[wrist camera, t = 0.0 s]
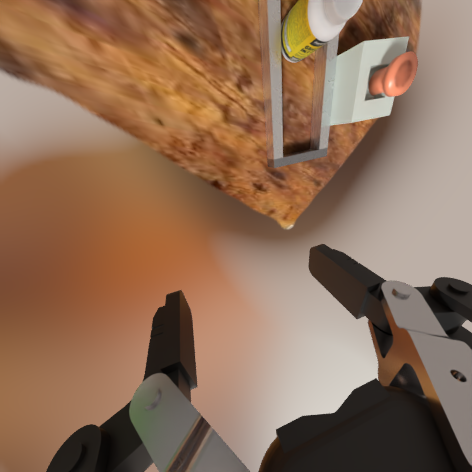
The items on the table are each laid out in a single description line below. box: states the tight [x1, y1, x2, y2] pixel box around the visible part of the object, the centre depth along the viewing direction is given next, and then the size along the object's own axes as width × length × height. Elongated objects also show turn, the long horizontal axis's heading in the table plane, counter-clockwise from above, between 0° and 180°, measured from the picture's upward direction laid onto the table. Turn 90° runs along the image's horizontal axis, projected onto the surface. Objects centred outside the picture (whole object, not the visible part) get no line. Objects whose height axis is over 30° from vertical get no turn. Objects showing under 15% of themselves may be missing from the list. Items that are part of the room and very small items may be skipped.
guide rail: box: [258, 0, 339, 168], centre depth 31 cm, size 24×12×3 cm, turn 9°
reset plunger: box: [368, 52, 418, 97], centre depth 27 cm, size 5×5×4 cm
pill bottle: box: [281, 0, 363, 63], centre depth 24 cm, size 6×6×11 cm
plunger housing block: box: [330, 37, 409, 125], centre depth 31 cm, size 10×9×8 cm
